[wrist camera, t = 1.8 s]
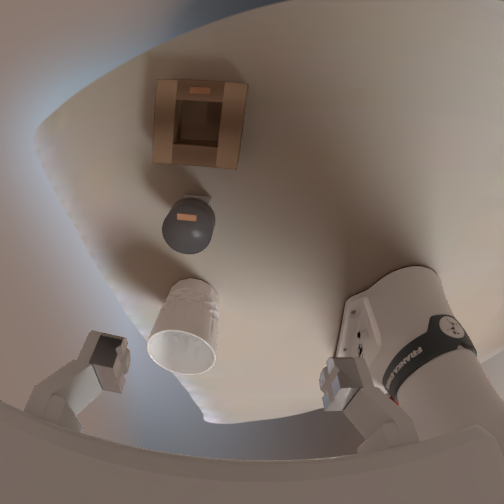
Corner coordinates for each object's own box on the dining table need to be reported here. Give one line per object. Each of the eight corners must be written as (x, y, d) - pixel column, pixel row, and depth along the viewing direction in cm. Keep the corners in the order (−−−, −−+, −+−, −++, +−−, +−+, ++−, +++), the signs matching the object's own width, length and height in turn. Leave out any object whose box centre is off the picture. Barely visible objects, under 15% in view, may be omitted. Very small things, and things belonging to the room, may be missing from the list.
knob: (216, 229, 34) (209, 257, 29) (176, 224, 34) (162, 251, 29) (220, 190, 32) (213, 212, 27) (177, 185, 32) (161, 206, 26)
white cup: (226, 279, 38) (219, 337, 29) (219, 323, 42) (212, 379, 33) (166, 269, 37) (143, 323, 29) (165, 313, 41) (148, 368, 33)
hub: (238, 159, 30) (236, 169, 27) (164, 153, 30) (152, 162, 26) (248, 84, 26) (247, 84, 23) (169, 80, 26) (157, 79, 22)
